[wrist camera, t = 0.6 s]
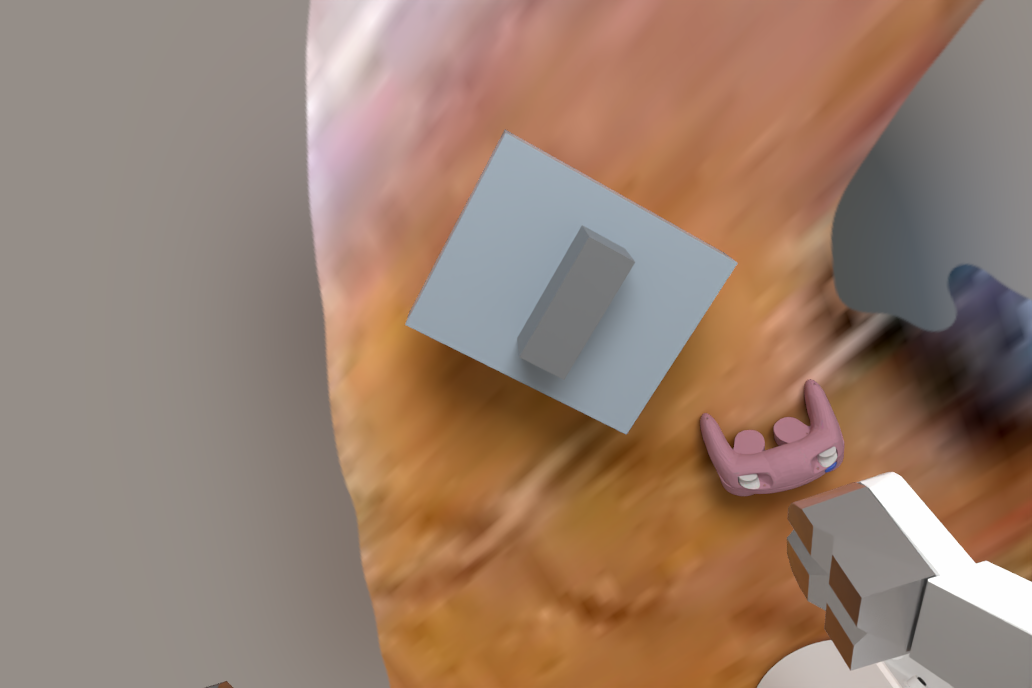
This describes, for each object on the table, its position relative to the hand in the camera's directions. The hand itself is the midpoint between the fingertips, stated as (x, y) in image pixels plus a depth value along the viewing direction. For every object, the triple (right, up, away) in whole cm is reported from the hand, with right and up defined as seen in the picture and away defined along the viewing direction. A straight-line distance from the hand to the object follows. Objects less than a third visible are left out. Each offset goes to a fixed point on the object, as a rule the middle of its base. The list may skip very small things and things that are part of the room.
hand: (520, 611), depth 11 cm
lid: (+3, +8, +39) cm, 39 cm away
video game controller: (+19, -3, +50) cm, 54 cm away
